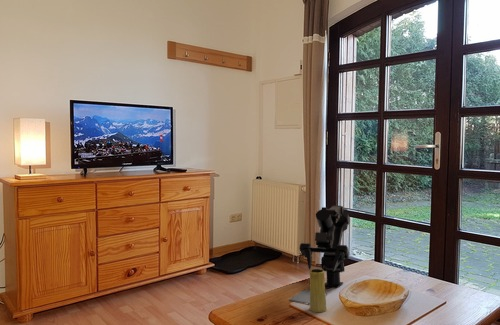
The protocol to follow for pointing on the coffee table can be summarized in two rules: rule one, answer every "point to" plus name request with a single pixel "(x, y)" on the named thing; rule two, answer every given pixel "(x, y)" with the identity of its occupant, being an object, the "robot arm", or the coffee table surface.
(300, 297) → the mat
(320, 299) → the vase
